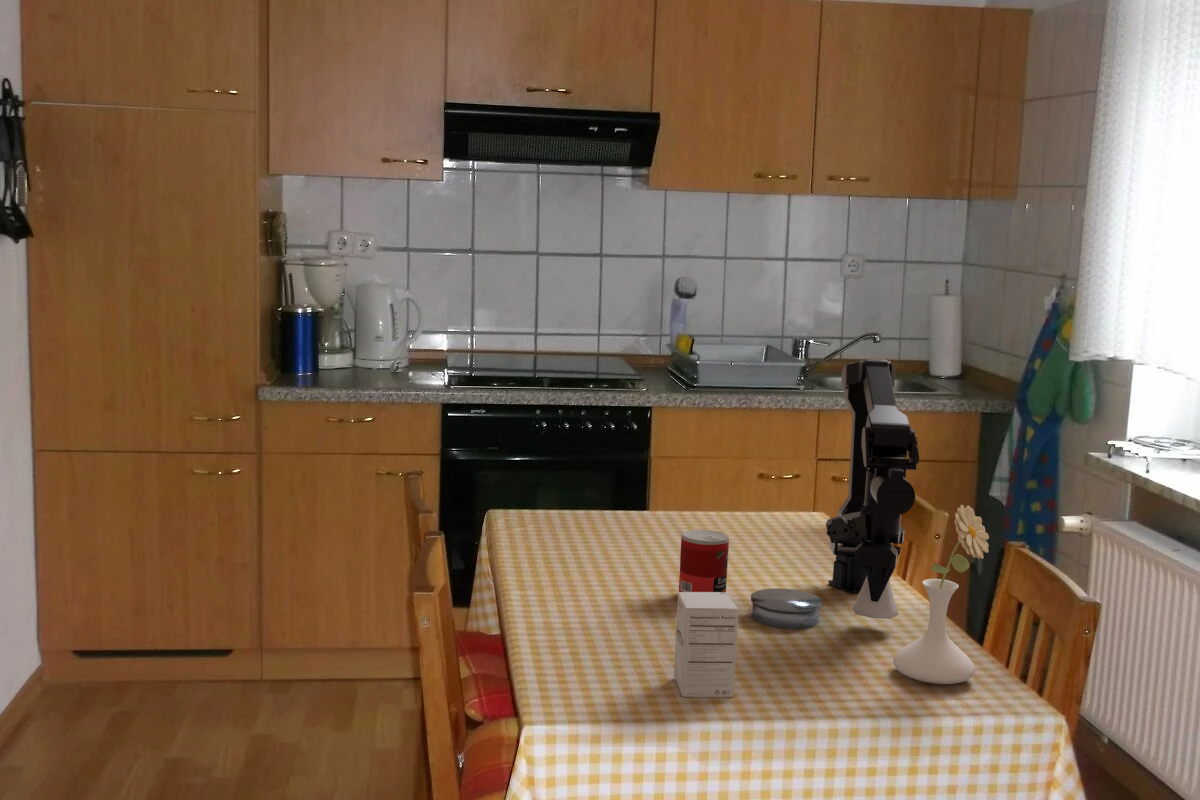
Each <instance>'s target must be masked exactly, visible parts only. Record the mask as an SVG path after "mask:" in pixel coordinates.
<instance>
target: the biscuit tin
mask: <svg viewBox="0 0 1200 800" xmlns="http://www.w3.org/2000/svg"><path fill="white" fill-rule="evenodd" d="M750 602H751V618H752V620H754V621H755V622H756V623H758V624H760V625H762V626H766V627H770V628H774V629H775V628H776V629H781V630H782V629H783V630H804V629H809V628H812V627H813V628H814V627H815V626H817V625H818V624H819V623H820V608H821V607H822V606H823V600H822V599H821V598H820V597H819V596H817V595H815V594H813V593H810V592H808V591H805V590H804V591H803V590H798V589H792V588H780V587H779V588H763V589H759V590H756V591H754V592H752V593H751V594H750Z"/></svg>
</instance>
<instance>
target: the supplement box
mask: <svg viewBox="0 0 1200 800" xmlns="http://www.w3.org/2000/svg"><path fill="white" fill-rule="evenodd" d="M676 608H677V609H676V610H677V611H676V612H677V613H676V628H675V629H676V630H675V631H676V632H675V646H674V647H675V649H674V667H673V669H674V670H673V677H674V680H675V682H676V684H677V686H678V689H679V691H680V695H681V697H683V698H733V697H734V694H735V682H736V681H735V679H736V677H735V676H736V675H735V674H736V660H737V644H738V626H739V608H738V606H737V604H736V602H734V599H733V598H732V597H731V596H730V594H729V592H726V593H724V592H679V591H678V593H677V607H676Z"/></svg>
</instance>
